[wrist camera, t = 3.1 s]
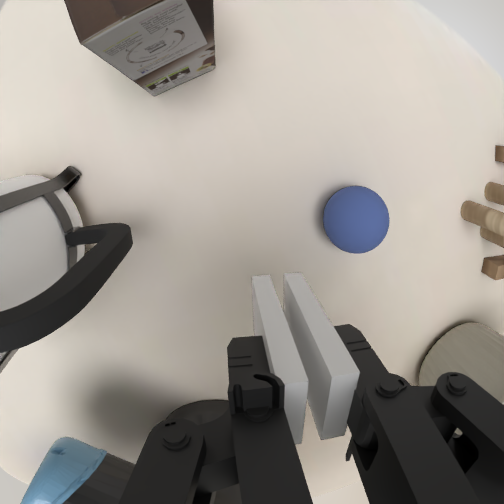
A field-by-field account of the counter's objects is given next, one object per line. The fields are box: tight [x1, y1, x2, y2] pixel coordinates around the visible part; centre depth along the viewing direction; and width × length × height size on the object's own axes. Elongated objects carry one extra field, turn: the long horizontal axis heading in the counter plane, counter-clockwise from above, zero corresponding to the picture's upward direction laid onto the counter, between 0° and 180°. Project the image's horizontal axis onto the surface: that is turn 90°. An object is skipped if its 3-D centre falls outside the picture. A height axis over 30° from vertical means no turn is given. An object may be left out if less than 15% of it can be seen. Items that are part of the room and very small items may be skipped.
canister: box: [419, 323, 504, 435], centre depth 29 cm, size 18×18×21 cm
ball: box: [323, 186, 389, 253], centre depth 27 cm, size 6×6×6 cm
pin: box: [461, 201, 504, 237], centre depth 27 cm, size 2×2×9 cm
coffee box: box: [64, 0, 216, 96], centre depth 15 cm, size 9×6×16 cm
